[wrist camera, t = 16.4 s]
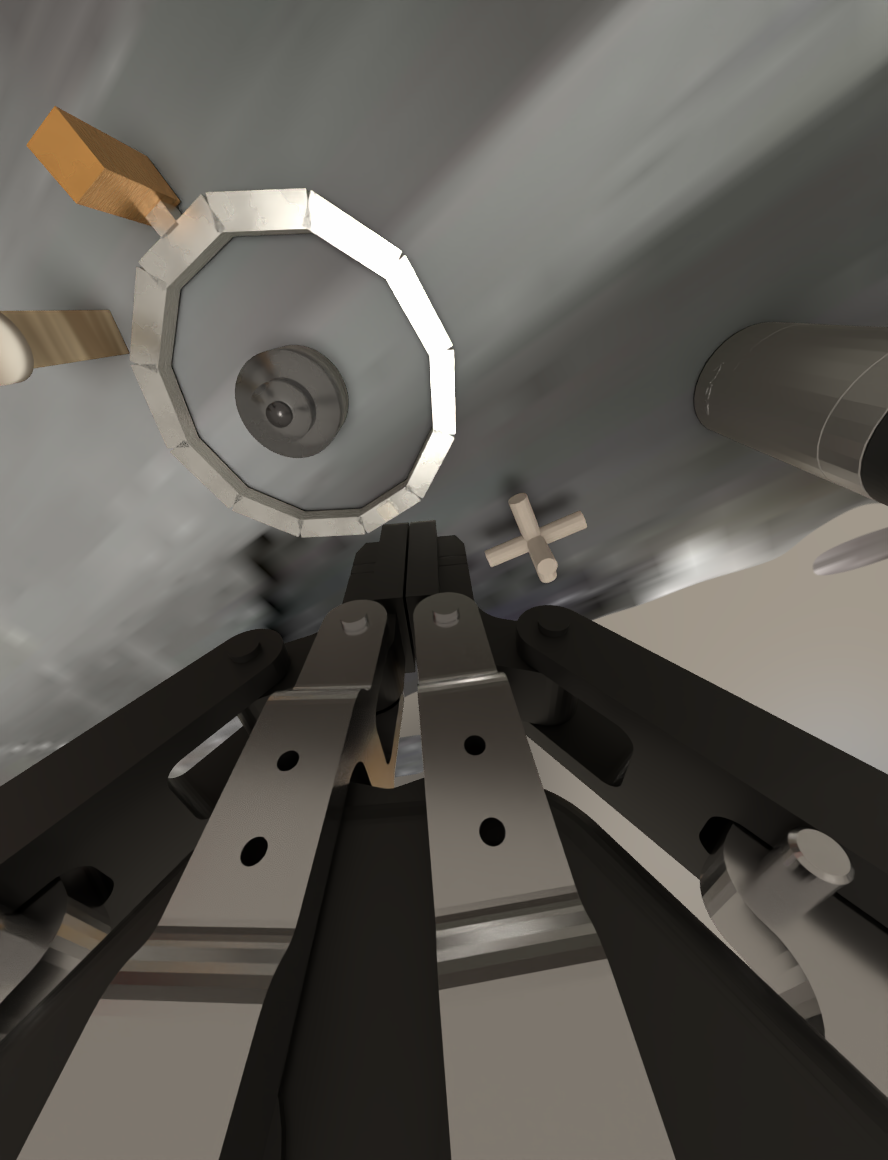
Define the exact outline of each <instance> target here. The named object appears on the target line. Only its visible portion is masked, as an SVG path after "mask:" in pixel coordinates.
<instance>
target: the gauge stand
mask: <svg viewBox="0 0 888 1160" xmlns="http://www.w3.org/2000/svg"><path fill="white" fill-rule="evenodd" d="M123 354H129V351H128V349H127V347H126V345H125V343H124V340H123V338H122V336H121V334H120V332H119V330H118V328H117V325H116V323H115V321H114V319H113V317H112V315H111V313H110V311H109V310H61V311H0V386H3V385H9V384H14V383H19V382H23V381H25V380H26V379H28V378H29V377H30V375H31V374H32V372H33V368H39V367H45V366H52V365H58V364H65V363H71V362H78V361H84V360H90V359H97V358H103V357H110V356H116V355H123Z"/></svg>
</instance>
